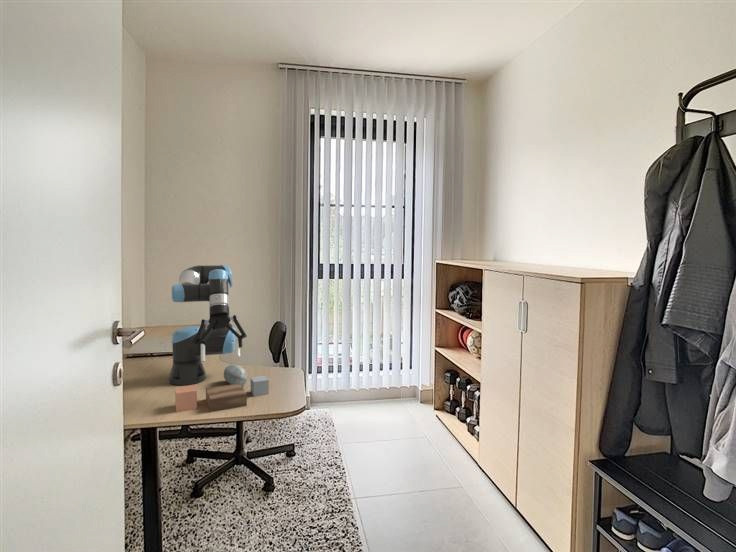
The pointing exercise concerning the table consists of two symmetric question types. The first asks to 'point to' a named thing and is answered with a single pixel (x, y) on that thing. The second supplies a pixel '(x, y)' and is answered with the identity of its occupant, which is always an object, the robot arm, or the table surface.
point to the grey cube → (259, 385)
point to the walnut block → (226, 397)
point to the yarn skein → (235, 374)
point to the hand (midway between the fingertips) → (220, 358)
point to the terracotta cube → (185, 398)
